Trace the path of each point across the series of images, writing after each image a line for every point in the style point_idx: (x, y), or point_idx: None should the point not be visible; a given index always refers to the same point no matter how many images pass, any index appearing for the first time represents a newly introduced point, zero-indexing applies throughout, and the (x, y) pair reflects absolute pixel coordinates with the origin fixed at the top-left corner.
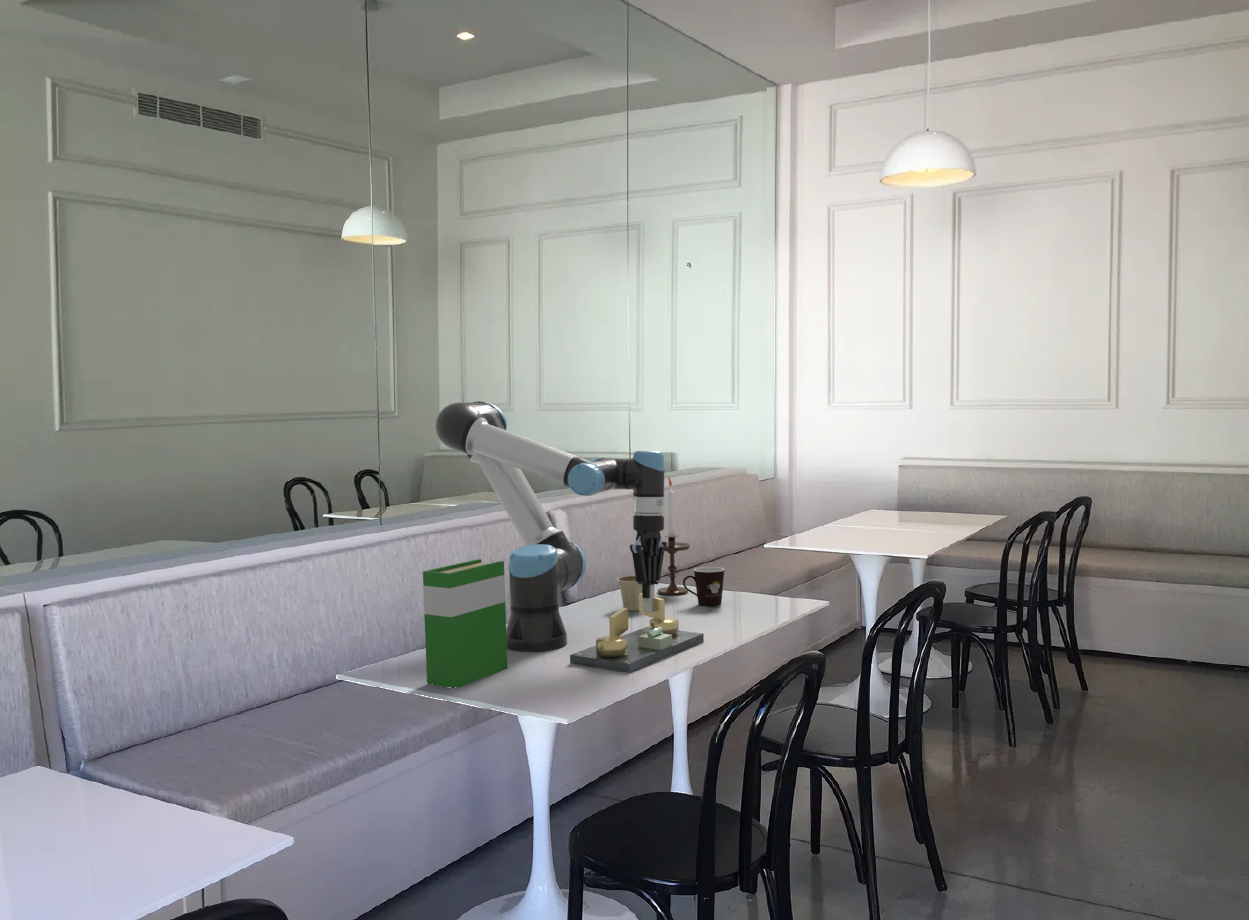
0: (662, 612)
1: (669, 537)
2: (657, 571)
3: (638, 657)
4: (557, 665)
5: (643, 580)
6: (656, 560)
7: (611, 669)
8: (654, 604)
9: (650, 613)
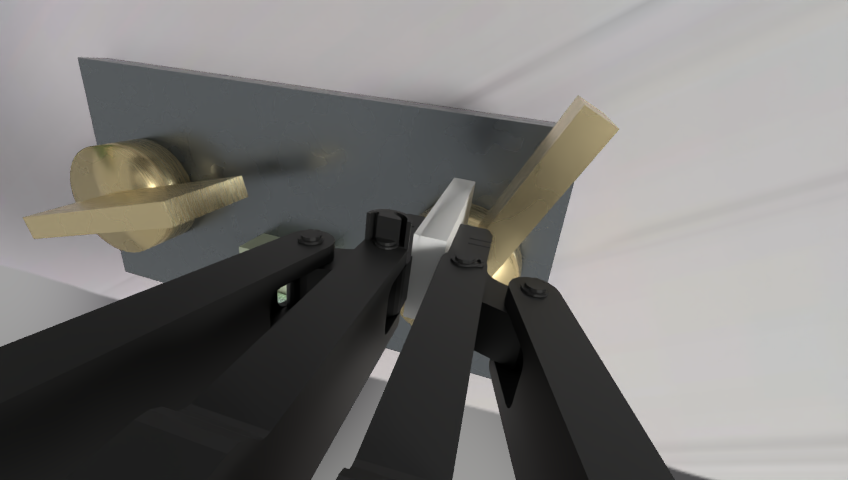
0: None
1: None
2: (504, 408)
3: (176, 274)
4: (75, 28)
5: (286, 305)
6: None
7: None
8: None
9: (493, 206)
